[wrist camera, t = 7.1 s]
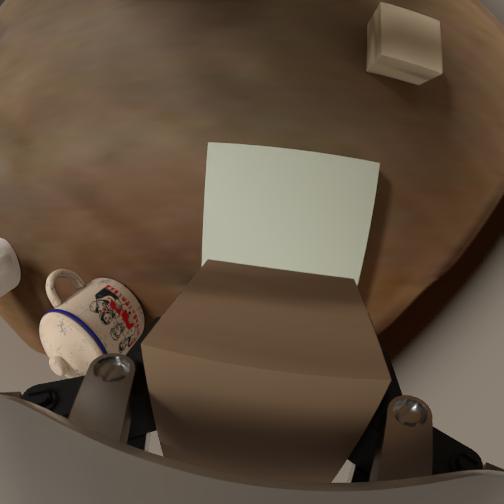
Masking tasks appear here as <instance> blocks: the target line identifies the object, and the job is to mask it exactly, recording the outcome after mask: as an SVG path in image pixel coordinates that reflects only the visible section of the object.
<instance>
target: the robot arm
mask: <svg viewBox="0 0 504 504" xmlns="http://www.w3.org/2000/svg"><path fill="white" fill-rule="evenodd" d="M182 291H183V290H182ZM182 291H181V292H182ZM178 296H179V295H178ZM174 301H175V300H174ZM170 306H171V305H170ZM166 311H167V310H166ZM163 315H164V314H163ZM163 315H162V316H163ZM368 315H369V313H368ZM160 318H161V317H157V318H155V319H154V321H153V322H152V323H151V324H150V326H149V327H148V328H147V329H146V331H145V332H144V333H143V334H142V336H141V337H140V338H139V339H138V341H137V342H136V343H135V344H134V346H133V347H132V348H131V349H130V351H129V352H128V353H127V354H126V356H125V355H123V354H118V353H109V354H104V355H101V356H99V357H97V358H96V359H94V360H93V361H92V362H91V364H90V365H89V368H88V370H87V372H86V375H84V376H79V377H74V378H70V379H65V380H60V381H55V382H49V383H44V384H38V385H35V386H32V387H31V388H29V389H27V390H26V392H25V393H24V394H23V395H22V394H21V392H0V504H504V469H502V468H499V467H497V466H494V465H492V464H489V463H487V462H486V463H485V464H484V465H483V463H482V461H481V458H480V457H479V455H478V454H477V453H476V452H474V451H473V450H472V449H470V448H469V447H467V446H465V445H463V444H462V443H460V442H458V441H456V440H455V439H453V438H451V437H450V436H448V435H446V434H445V433H443V432H441V431H439V430H438V429H436V428H434V427H433V423H432V413H431V410H430V408H429V406H428V405H427V404H426V403H425V402H424V401H422V400H420V399H419V398H417V397H413V396H408V395H403V396H402V393H401V390H400V387H399V384H398V381H397V378H396V375H395V372H394V369H393V366H392V364H391V361H390V358H389V355H388V353H387V351H386V349H384V348H381V346H380V348H381V350H382V353H383V356H384V359H385V362H386V365H387V368H388V371H389V374H390V377H391V382H390V384H389V386H388V388H387V390H386V392H385V394H384V396H383V398H382V400H381V402H380V404H379V406H378V408H377V410H376V411H375V413H374V415H373V417H372V419H371V421H370V422H369V424H368V426H367V428H366V429H365V431H364V433H363V435H362V436H361V438H360V440H359V441H358V443H357V444H356V446H355V448H354V449H353V451H352V452H351V454H350V456H349V457H348V460H349V461H351V462H352V463H353V464H352V467H351V471H350V474H349V478H348V481H347V483H319V482H299V481H286V480H276V479H267V478H259V477H252V476H245V475H239V474H234V473H228V472H223V471H218V470H213V469H209V468H204V467H200V466H196V465H192V464H188V463H184V462H180V461H177V460H173V459H170V458H166V457H163V456H159V455H156V454H153V453H150V452H148V449H149V441H150V432H152V431H155V430H157V428H156V424H155V420H154V415H153V410H152V406H151V401H150V396H149V391H148V385H147V380H146V374H145V368H144V362H143V356H142V349H141V343H142V341H143V340H144V339H145V338H146V336H147V335H148V334H149V332H150V331H151V330H152V329H153V327H154V326H155V325H156V323H157V322H158V321H159V320H160ZM369 318H370V316H369ZM370 320H371V318H370ZM371 323H372V321H371ZM372 326H373V324H372ZM373 328H374V326H373ZM374 331H375V329H374ZM375 334H376V332H375ZM376 336H377V334H376ZM377 339H378V337H377ZM378 342H379V340H378ZM379 345H380V343H379Z"/></svg>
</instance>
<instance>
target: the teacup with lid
mask: <svg viewBox="0 0 504 504" xmlns="http://www.w3.org/2000/svg"><path fill="white" fill-rule="evenodd" d="M57 277H64V278H67V279H69V280H70V281H71V282H72V283H73V284H74V285H75V287H76V288H77V290H78V292H76V293H75V294H74V295H72V296H71V297H70V298H68V299H67V300H66V301H64V302H63V303H62V301H61V300H60V298H59V296H58V295H57V293H56V290H55V279H56V278H57ZM46 292H47V296H48V298H49V300H50V302H51V303H52V305H53V306H54V308H55V309H51V310H49V311H47V312H46V313H45V314H44V316H43V318H42V319H41V322H40V327H39V333H40V339H41V342H42V345H43V347H44V350H45V352H46V353H47V355H48V357H49V358H50V360H49V365H50V367H51V369H52V370H53V371H54V372H55V373H56V374H57V375H59V376H64V375H65V376H66V377H68V378H69V379H70V378H74V377H79V376H84V375H86V372H87V370H88V368H89V365H90V364H91V362H92V361H93V360H94V359H96V358H97V357H99V356H101V355H104V354H109V353H118V354H123V355H126V354H127V352H128V351H129V350H130V349H131V347H132V346H133V345H134V343H135V342H136V341H137V340H138V338H139V337H140V336H141V334H142V332H143V330H144V314H143V311H142V308H141V306H140V304H139V302H138V300H137V299H136V297H135V296H134V295H133V294H132V292H131V291H130V290H129V289H127V288H126V287H125V286H124V285H122V284H121V283H119V282H117V281H115V280H113V279H109V278H98V279H95V280H93V281H91V282H90V283H88V284H87V285H85V284H84V282H83V281H82V279H81V278H80V277H79V276H78V275H77V274H76V273H75V272H73V271H71V270H68V269H59V270H56V271H54V272H53V273H51V274H50V275H49V276H48V278H47V280H46Z"/></svg>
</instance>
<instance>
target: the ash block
mask: <svg viewBox="0 0 504 504" xmlns="http://www.w3.org/2000/svg"><path fill="white" fill-rule="evenodd" d="M366 72H371V73H375V74H379V75H383V76H387V77H391V78H395V79H399V80H402V81H406V82H409V83H413V84H416V85H420V84H422V83H424V82H427V81H429V80H431V79H433V78H435V77H437V76H439V75H441V74H442V46H441V32H440V21H438V20H436V19H433V18H430V17H428V16H425V15H422V14H419V13H417V12H414V11H411V10H407V9H404V8H401V7H398V6H394V5H391V4H387V3H384V2H380V3H379V5H378V7H377V9H376V10H375V12H374V14H373V15H372V17H371V19H370V21H369V22H368V24H367V65H366Z"/></svg>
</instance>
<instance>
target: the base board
mask: <svg viewBox="0 0 504 504" xmlns="http://www.w3.org/2000/svg"><path fill="white" fill-rule="evenodd" d="M379 167H380V163H377V162H372V161H367V160H361V159H356V158H350V157H344V156H338V155H331V154H325V153H318V152H311V151H303V150H295V149H286V148H277V147H267V146H256V145H244V144H229V143H211V142H208V151H207V165H206V180H205V197H204V217H203V242H202V266H203V265H204V263H205V262H206V261H207V260H208V259H210V260H217V261H224V262H231V263H239V264H246V265H253V266H260V267H268V268H275V269H282V270H290V271H297V272H305V273H313V274H320V275H328V276H336V277H344V278H351V279H354V280H355V282H356V285H358V281H359V277H360V273H361V268H362V264H363V259H364V255H365V250H366V245H367V240H368V235H369V230H370V224H371V219H372V213H373V207H374V201H375V195H376V189H377V182H378V175H379Z"/></svg>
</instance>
